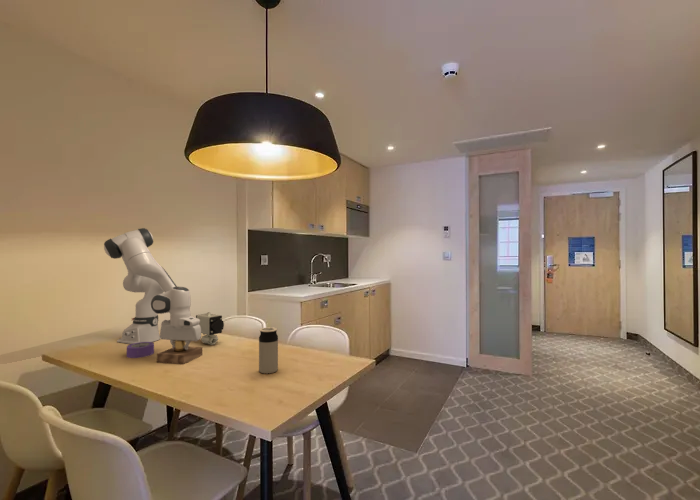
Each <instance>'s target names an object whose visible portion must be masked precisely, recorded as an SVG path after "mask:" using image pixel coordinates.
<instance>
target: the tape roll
mask: <svg viewBox="0 0 700 500" xmlns="http://www.w3.org/2000/svg"><path fill="white" fill-rule="evenodd" d="M154 354H155V343H154V341H153V342H139V343H133V344H128V345H126V358H128V359H129V358H131V359H137V358H145V357H149V356H151V355H154Z"/></svg>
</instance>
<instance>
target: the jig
mask: <svg viewBox="0 0 700 500" xmlns="http://www.w3.org/2000/svg"><path fill="white" fill-rule="evenodd" d="M202 356H203V347H202V346H192V345H188V349H187V350H185V351H183V352H175V349H172V347H171V348H168V349H166V350H164V351H161V352H159V353H156V363H159V364H160V363H162V364H176V365H185V364H187V363H189V362H191V361H194V360H195V359H197V358H199V357H202Z"/></svg>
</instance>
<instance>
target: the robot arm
mask: <svg viewBox="0 0 700 500" xmlns="http://www.w3.org/2000/svg"><path fill="white" fill-rule="evenodd" d="M153 244H154V236H153V234H152V232H151V231H149V229H147V228H145V227H142V228H137V229H135V230H130V231H127V232H124V233H122V234H119V235H117V236H114V237H112V238H108V239H107V240H105V241H104V243H103V250H104V252H105V253H106V255H107V256H108V257H109V258H111V259H116V260H117V259H121V258H122V261H123V262H124V265H125V268H126V270H127V275H126V276H125V277H124V278H123V281H122V287H123V289H124V290H125V291H127V292H131V293H144V296H143V297H142V298H141V299H139V300H138V301H137V302H136V304H135V316H134V317H131V321H132V323H131V324H130V325H129V326H127V327H126V328H125V329H124V330H122V331H123V332H122V334H121V338H118V339H117V340H116V343H122V344H128V345H130V344H133V343H139V342H153V343H154V342H157V341H159V340H166V341H167V340H168V341H170V344H171V346H172V347H171V348H172V349H175V340H183V341H185V346H183V350H187V349H188V346H190V343H191V342H198V341H201V338H202V333H201V327H200V325H199V323H200V319H197V318H196V316H195V317H194V316H193V315H192V313H191V310H190V309H191V302H192V301H191V300H192V299H191V292H190V289H188V288H187V287H185V286H178V285H177V284H176V283H175V282H174V281H173V279H172V277H171V276H170V275H169V273H168V272H167V270H166V269H165V268H164V267H163V266H161V265H160V264H159V263H158V261H157V260H156V258H154V256H153V254H152V252H151V251H150V249H149V247H151V246H152V245H153ZM168 313H169V316H170V317H169V318H170V319H164V320H162V321H161V323H160V324H161V325H160V330H159V325H158V323H159V314H160V315H162V314H168Z"/></svg>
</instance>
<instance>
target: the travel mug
mask: <svg viewBox="0 0 700 500" xmlns="http://www.w3.org/2000/svg"><path fill="white" fill-rule="evenodd" d="M277 331H278V328H277V327H272V326H271V327H269V326H268V327H262V328H260V329H259V332H260V335H259V337H258V372H259V373H262V374H265V373H266V374H267V375H268V373H269V374H272V373H273V374H274V373H276V372H278V370H279V335H278V333H277Z"/></svg>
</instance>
